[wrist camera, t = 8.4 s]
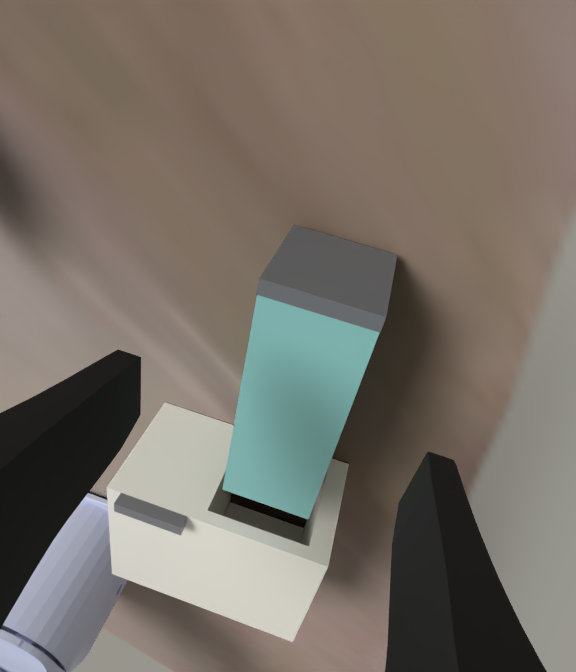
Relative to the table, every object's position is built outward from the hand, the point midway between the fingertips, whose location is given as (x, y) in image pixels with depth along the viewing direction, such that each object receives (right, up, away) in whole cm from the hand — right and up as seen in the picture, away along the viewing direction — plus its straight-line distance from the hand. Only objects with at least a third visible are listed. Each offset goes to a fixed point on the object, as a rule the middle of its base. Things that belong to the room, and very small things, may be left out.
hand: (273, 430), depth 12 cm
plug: (+2, +2, +10) cm, 10 cm away
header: (-2, -6, +17) cm, 18 cm away
